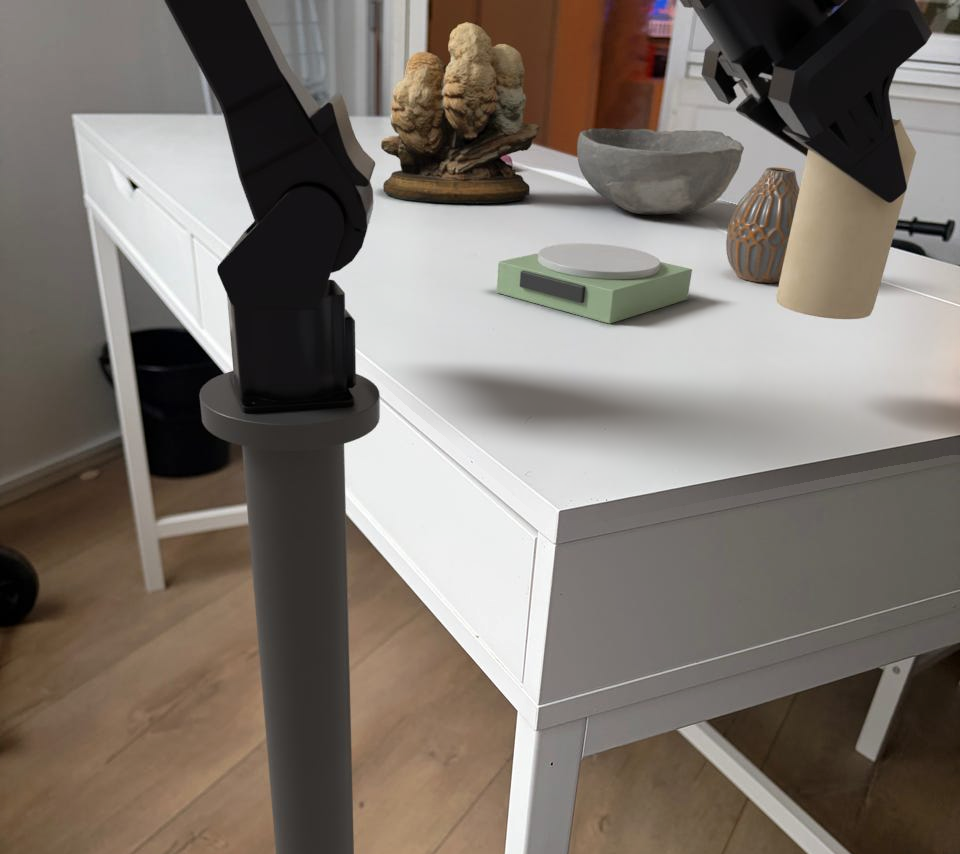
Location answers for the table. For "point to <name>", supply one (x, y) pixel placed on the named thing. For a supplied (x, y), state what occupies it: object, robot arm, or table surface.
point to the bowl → (658, 167)
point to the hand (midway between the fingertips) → (877, 187)
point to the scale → (594, 280)
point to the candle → (839, 240)
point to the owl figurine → (460, 123)
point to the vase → (763, 226)
